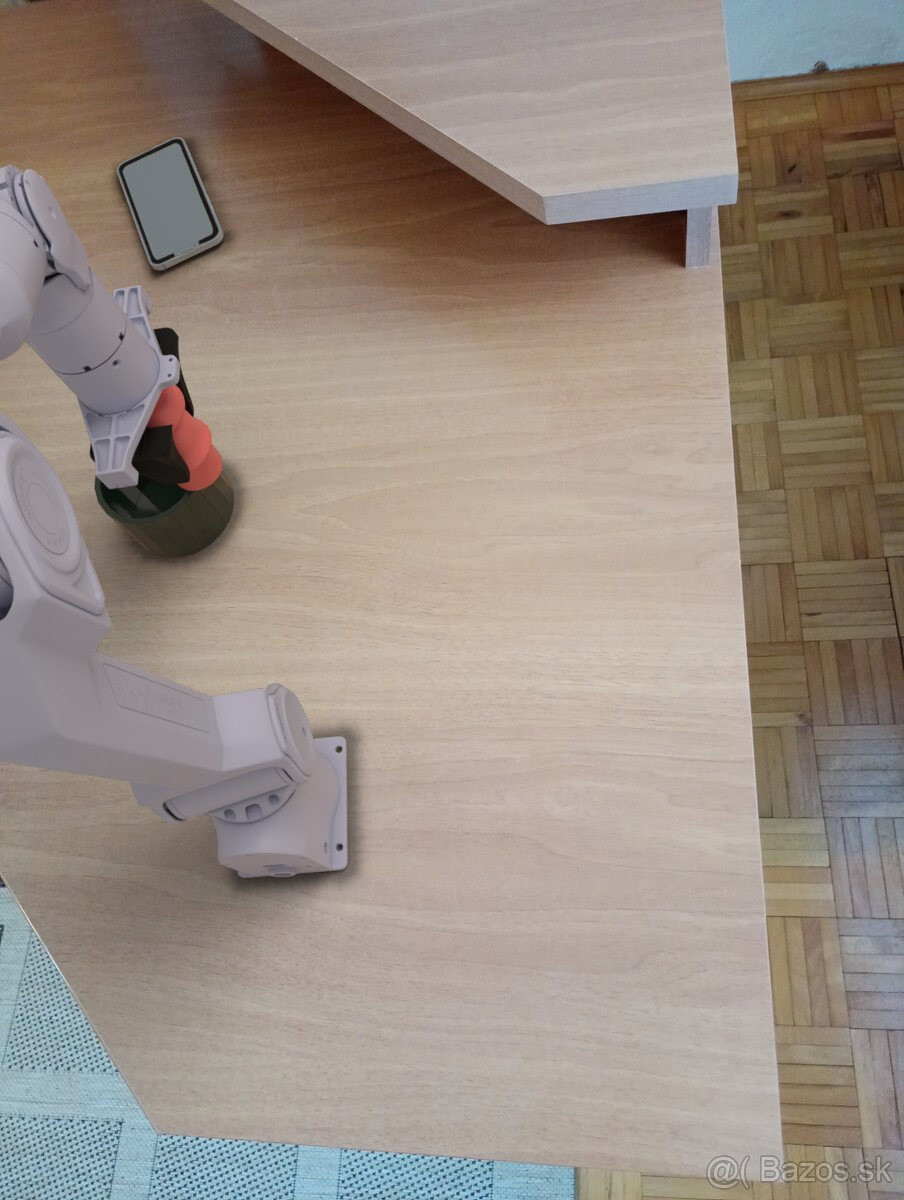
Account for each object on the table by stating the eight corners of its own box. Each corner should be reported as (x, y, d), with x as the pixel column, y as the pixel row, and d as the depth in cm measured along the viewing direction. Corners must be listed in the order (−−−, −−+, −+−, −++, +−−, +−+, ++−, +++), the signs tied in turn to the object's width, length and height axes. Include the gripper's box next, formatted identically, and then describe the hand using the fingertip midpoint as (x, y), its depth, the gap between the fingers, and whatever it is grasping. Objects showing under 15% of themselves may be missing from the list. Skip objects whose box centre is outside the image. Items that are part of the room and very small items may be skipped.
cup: (232, 550, 86) (200, 515, 80) (128, 564, 88) (89, 531, 82) (236, 453, 90) (205, 413, 84) (136, 468, 91) (99, 430, 85)
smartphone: (182, 133, 104) (224, 235, 98) (186, 141, 105) (228, 242, 99) (113, 166, 105) (151, 269, 98) (118, 173, 105) (155, 276, 99)
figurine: (220, 502, 79) (123, 390, 66) (158, 496, 81) (51, 385, 67) (238, 442, 81) (148, 321, 67) (178, 437, 82) (77, 317, 69)
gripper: (135, 427, 62) (226, 529, 74) (152, 231, 68) (234, 356, 80) (24, 444, 63) (132, 541, 76) (50, 250, 69) (147, 370, 81)
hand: (179, 447), depth 78 cm, fingers closed on figurine, 5 cm apart
